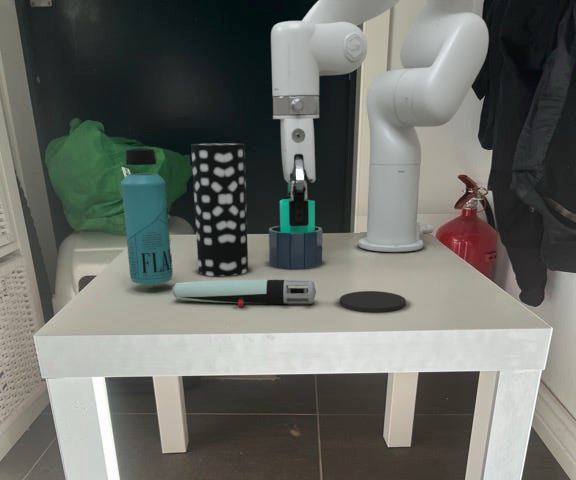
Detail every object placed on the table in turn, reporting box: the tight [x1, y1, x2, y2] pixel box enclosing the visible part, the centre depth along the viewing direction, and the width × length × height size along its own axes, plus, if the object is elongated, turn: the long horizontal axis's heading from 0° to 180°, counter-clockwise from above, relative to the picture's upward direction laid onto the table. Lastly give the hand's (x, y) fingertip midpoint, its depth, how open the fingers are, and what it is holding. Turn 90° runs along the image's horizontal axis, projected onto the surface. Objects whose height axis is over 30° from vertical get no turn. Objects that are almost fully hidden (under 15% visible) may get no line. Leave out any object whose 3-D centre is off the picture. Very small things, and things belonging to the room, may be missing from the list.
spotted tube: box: [190, 142, 249, 277], centre depth 104 cm, size 8×8×20 cm
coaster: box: [339, 290, 407, 313], centre depth 89 cm, size 9×9×1 cm
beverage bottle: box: [120, 147, 174, 285], centre depth 93 cm, size 6×7×20 cm
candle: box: [279, 198, 316, 233], centre depth 111 cm, size 6×6×12 cm
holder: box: [268, 225, 323, 270], centre depth 112 cm, size 9×9×6 cm
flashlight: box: [172, 279, 317, 308], centre depth 88 cm, size 3×4×20 cm
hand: (297, 221), depth 111 cm, fingers closed on candle, 6 cm apart
